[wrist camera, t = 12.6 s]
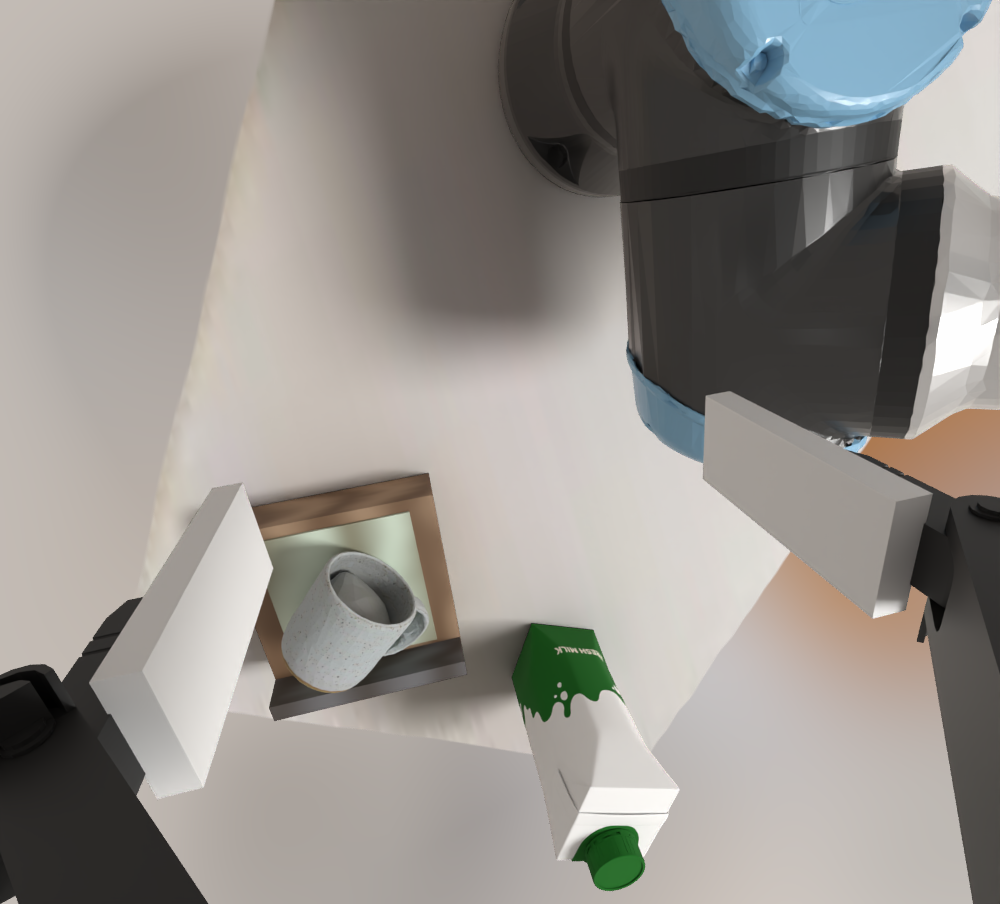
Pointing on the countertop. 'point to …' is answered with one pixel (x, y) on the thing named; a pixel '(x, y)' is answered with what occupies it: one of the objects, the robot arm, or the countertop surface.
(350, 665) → the ceramic mug
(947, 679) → the robot arm
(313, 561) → the step
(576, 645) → the milk carton
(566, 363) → the countertop surface
